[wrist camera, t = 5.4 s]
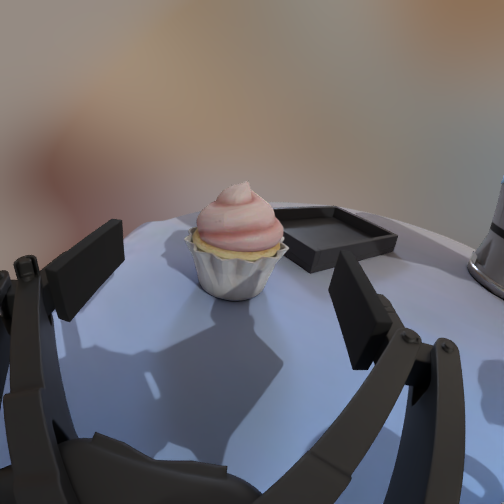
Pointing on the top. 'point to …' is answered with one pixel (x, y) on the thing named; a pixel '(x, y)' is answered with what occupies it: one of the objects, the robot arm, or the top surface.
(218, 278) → the cupcake
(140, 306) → the top surface
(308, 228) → the baking tray
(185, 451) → the top surface
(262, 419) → the top surface
